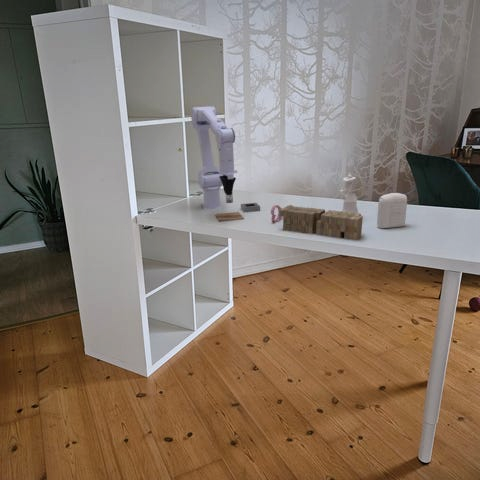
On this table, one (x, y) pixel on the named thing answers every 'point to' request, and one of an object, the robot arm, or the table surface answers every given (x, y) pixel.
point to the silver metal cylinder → (229, 198)
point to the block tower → (322, 222)
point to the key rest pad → (229, 216)
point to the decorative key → (274, 214)
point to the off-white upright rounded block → (392, 210)
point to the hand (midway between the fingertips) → (228, 194)
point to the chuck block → (250, 207)
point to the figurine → (349, 196)
